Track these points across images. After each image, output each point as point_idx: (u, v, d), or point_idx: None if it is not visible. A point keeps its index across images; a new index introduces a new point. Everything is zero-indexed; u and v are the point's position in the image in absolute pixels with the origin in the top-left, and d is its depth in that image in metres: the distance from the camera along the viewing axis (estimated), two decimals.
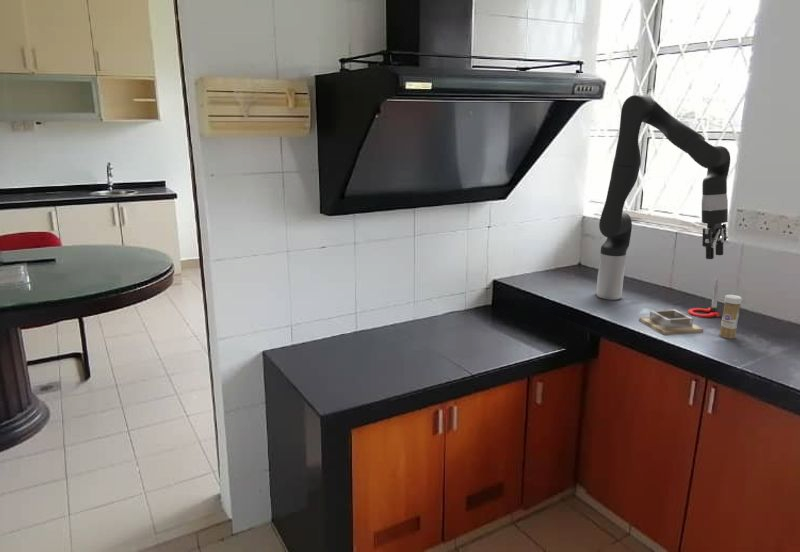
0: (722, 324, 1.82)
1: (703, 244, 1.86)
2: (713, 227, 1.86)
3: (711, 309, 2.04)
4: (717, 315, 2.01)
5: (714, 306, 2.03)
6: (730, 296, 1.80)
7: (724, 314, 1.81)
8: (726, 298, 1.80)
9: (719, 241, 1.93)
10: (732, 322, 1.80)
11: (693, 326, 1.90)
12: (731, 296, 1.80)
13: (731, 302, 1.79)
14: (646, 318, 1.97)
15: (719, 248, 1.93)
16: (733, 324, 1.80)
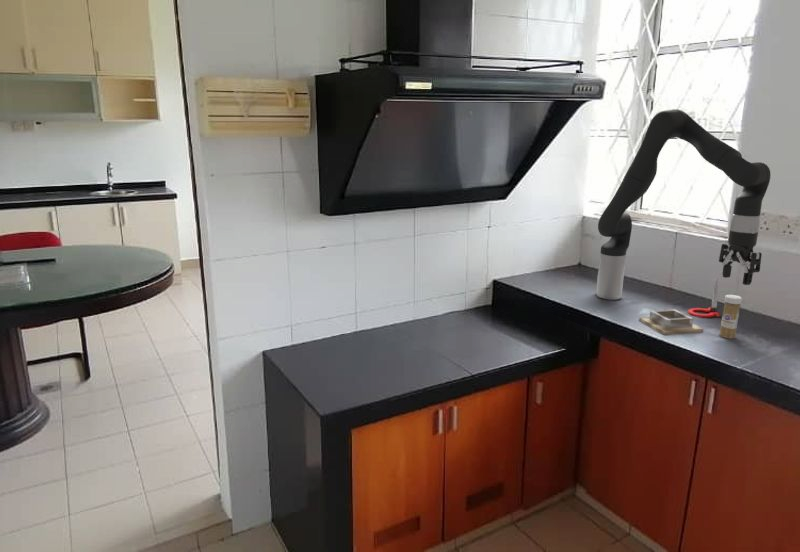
0: (722, 324, 1.82)
1: (753, 270, 1.70)
2: None
3: (711, 309, 2.04)
4: (717, 315, 2.01)
5: (714, 306, 2.03)
6: (730, 296, 1.80)
7: (724, 314, 1.81)
8: (726, 298, 1.80)
9: (728, 263, 1.81)
10: (732, 322, 1.80)
11: (693, 326, 1.90)
12: (731, 296, 1.80)
13: (731, 302, 1.79)
14: (646, 318, 1.97)
15: (728, 270, 1.82)
16: (733, 324, 1.80)
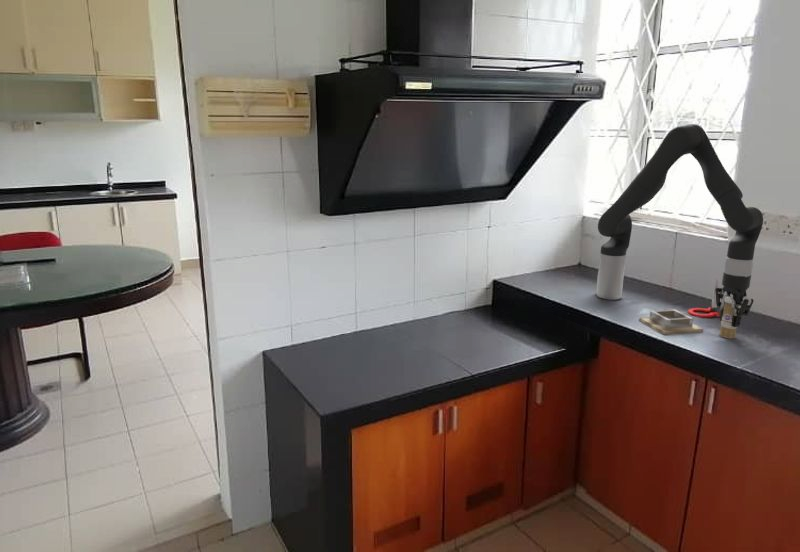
0: (722, 324, 1.82)
1: (741, 314, 1.76)
2: None
3: (711, 309, 2.04)
4: (717, 315, 2.01)
5: (714, 306, 2.03)
6: None
7: (724, 314, 1.81)
8: (726, 298, 1.80)
9: None
10: None
11: (693, 326, 1.90)
12: None
13: (731, 302, 1.79)
14: (646, 318, 1.97)
15: None
16: None
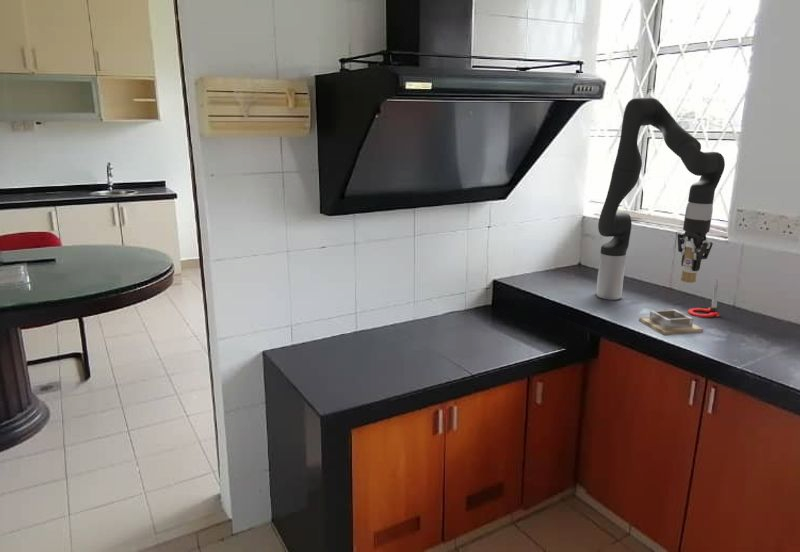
0: (683, 269, 1.86)
1: (701, 258, 1.80)
2: None
3: (711, 309, 2.04)
4: (717, 315, 2.01)
5: (714, 306, 2.03)
6: None
7: (685, 259, 1.85)
8: (687, 243, 1.83)
9: None
10: None
11: (693, 326, 1.90)
12: None
13: (691, 247, 1.82)
14: (646, 318, 1.97)
15: None
16: None
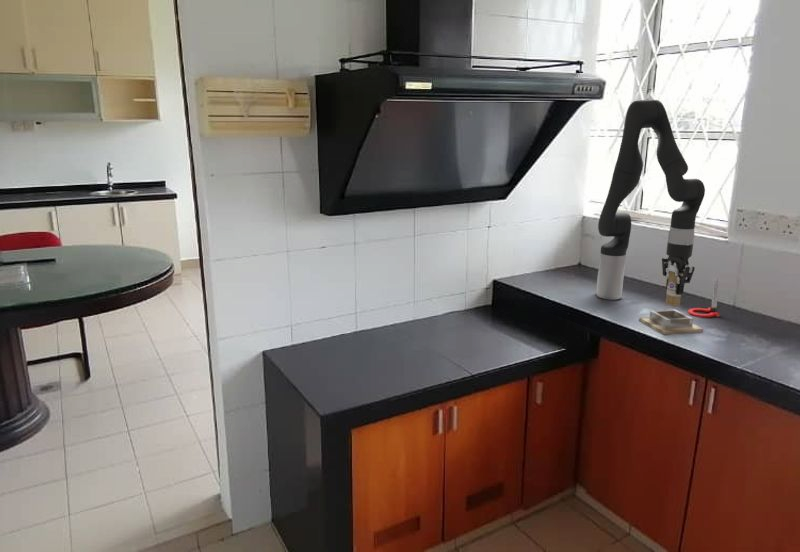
0: (667, 292, 1.90)
1: (684, 282, 1.83)
2: None
3: (711, 309, 2.04)
4: (717, 315, 2.01)
5: (714, 306, 2.03)
6: None
7: (669, 282, 1.89)
8: (670, 267, 1.87)
9: None
10: None
11: (693, 326, 1.90)
12: None
13: (674, 271, 1.86)
14: (646, 318, 1.97)
15: None
16: None
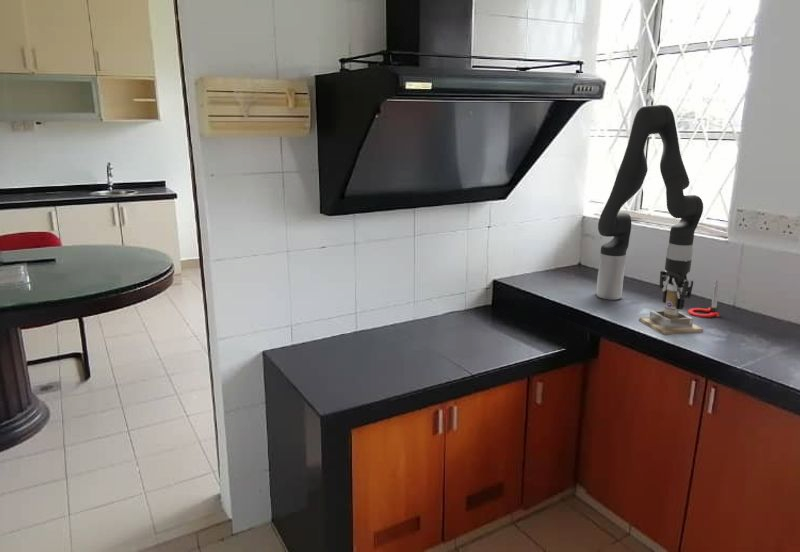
0: (665, 311, 1.92)
1: (684, 297, 1.83)
2: (686, 277, 1.85)
3: (711, 309, 2.04)
4: (717, 315, 2.01)
5: (714, 306, 2.03)
6: None
7: (666, 301, 1.91)
8: (668, 286, 1.89)
9: None
10: (674, 308, 1.89)
11: (693, 326, 1.90)
12: None
13: (672, 290, 1.88)
14: (646, 318, 1.97)
15: None
16: (675, 310, 1.89)
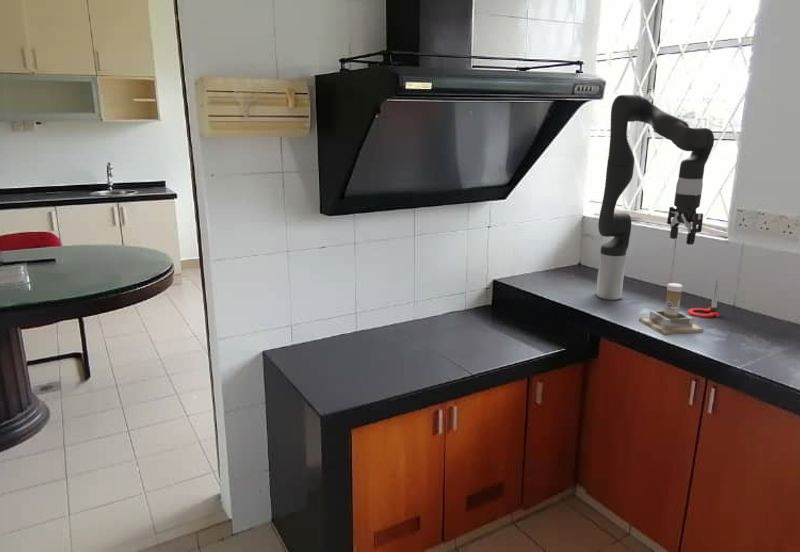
0: (665, 311, 1.92)
1: (695, 230, 1.81)
2: (695, 212, 1.83)
3: (711, 309, 2.04)
4: (717, 315, 2.01)
5: (714, 306, 2.03)
6: (672, 284, 1.89)
7: (666, 301, 1.91)
8: (668, 286, 1.89)
9: (675, 224, 1.92)
10: (674, 309, 1.89)
11: (693, 326, 1.90)
12: (673, 284, 1.89)
13: (672, 290, 1.88)
14: (646, 318, 1.97)
15: (675, 231, 1.92)
16: (675, 311, 1.89)
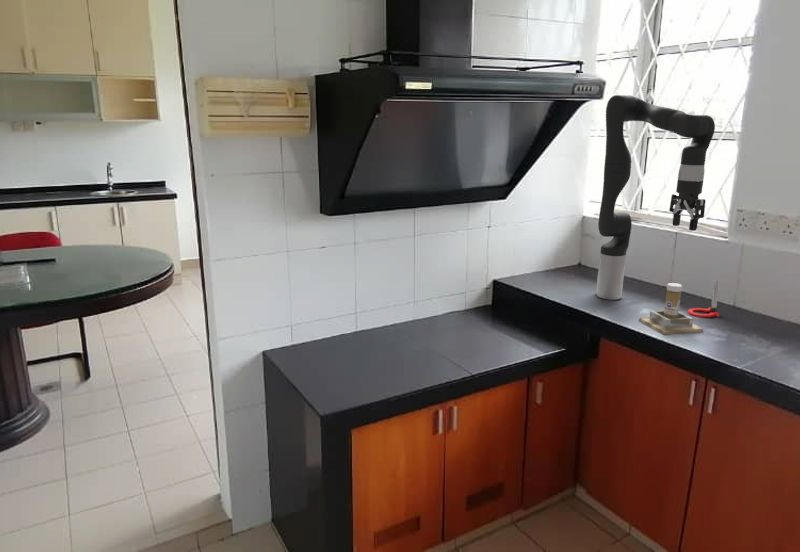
0: (665, 311, 1.92)
1: (698, 216, 1.83)
2: None
3: (711, 309, 2.04)
4: (717, 315, 2.01)
5: (714, 306, 2.03)
6: (671, 284, 1.89)
7: (666, 301, 1.91)
8: (668, 286, 1.89)
9: (677, 212, 1.94)
10: (674, 309, 1.89)
11: (693, 326, 1.90)
12: (672, 284, 1.89)
13: (672, 290, 1.88)
14: (646, 318, 1.97)
15: (677, 219, 1.94)
16: (675, 311, 1.89)
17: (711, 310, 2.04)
